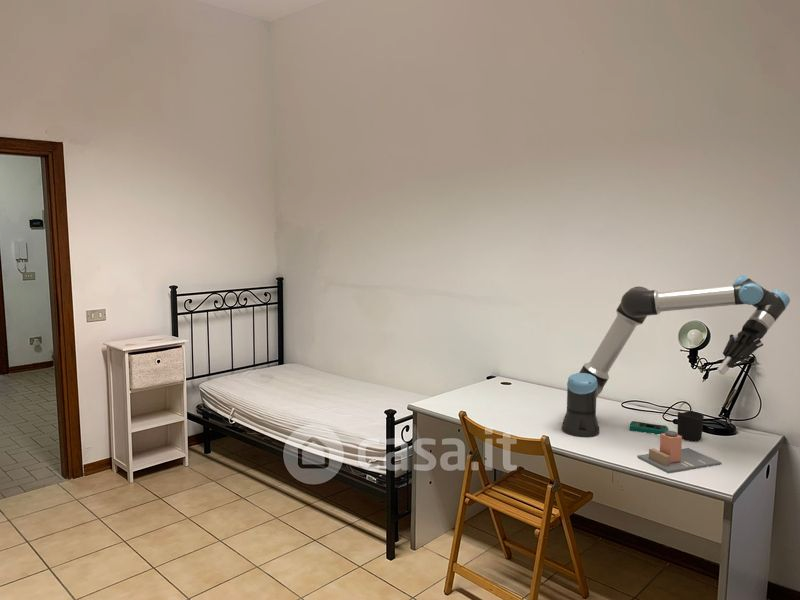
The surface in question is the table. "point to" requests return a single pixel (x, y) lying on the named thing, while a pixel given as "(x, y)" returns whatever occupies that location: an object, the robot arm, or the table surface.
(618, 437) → the table surface
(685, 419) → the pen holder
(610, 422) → the table surface
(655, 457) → the plate
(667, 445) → the pink capped canister
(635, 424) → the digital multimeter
